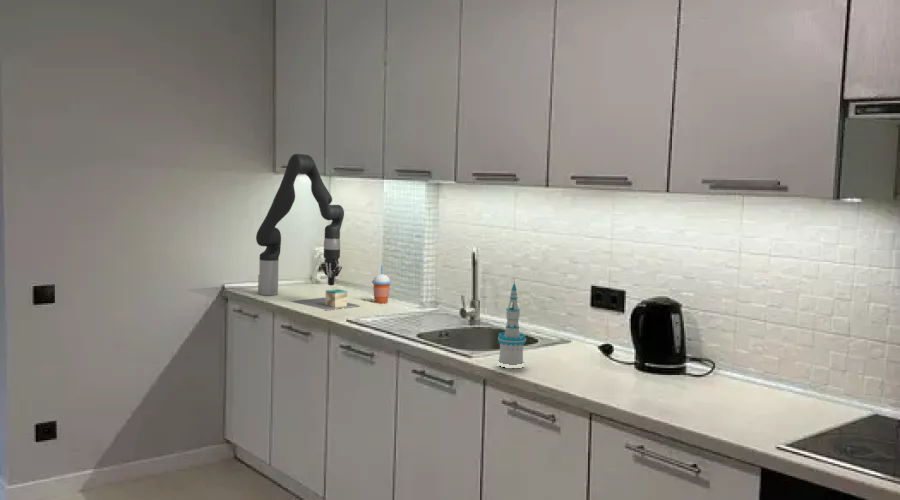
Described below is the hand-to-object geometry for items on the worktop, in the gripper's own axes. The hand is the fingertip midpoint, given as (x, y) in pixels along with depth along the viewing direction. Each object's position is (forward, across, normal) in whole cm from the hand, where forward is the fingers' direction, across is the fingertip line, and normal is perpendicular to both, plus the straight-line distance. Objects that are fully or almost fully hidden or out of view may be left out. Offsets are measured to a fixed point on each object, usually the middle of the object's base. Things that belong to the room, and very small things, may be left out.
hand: (331, 285), depth 399 cm
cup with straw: (+10, +6, +26) cm, 28 cm away
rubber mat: (+10, -4, 0) cm, 11 cm away
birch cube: (+2, +4, 0) cm, 5 cm away
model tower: (+10, +129, -25) cm, 132 cm away
